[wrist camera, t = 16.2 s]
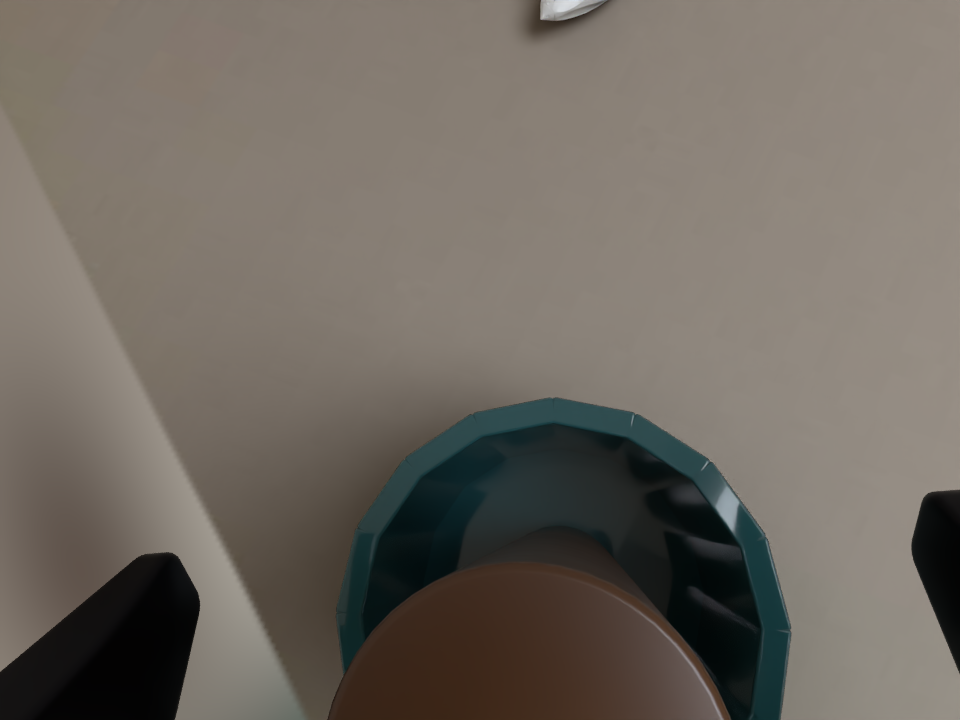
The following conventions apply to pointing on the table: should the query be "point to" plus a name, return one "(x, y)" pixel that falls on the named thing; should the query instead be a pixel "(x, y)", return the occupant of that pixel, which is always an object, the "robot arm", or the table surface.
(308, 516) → the table surface
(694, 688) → the dowel
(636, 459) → the cup
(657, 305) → the table surface
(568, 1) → the marker
